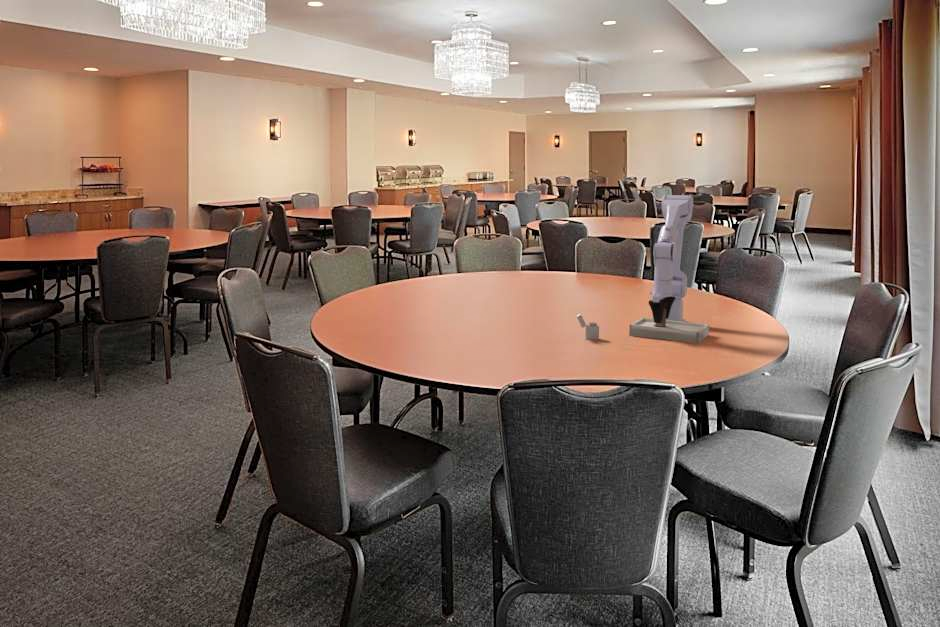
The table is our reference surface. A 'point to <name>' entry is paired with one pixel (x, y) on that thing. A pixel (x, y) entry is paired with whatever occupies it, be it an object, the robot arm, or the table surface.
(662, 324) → the peg
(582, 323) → the lighter
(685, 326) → the box
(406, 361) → the table surface
